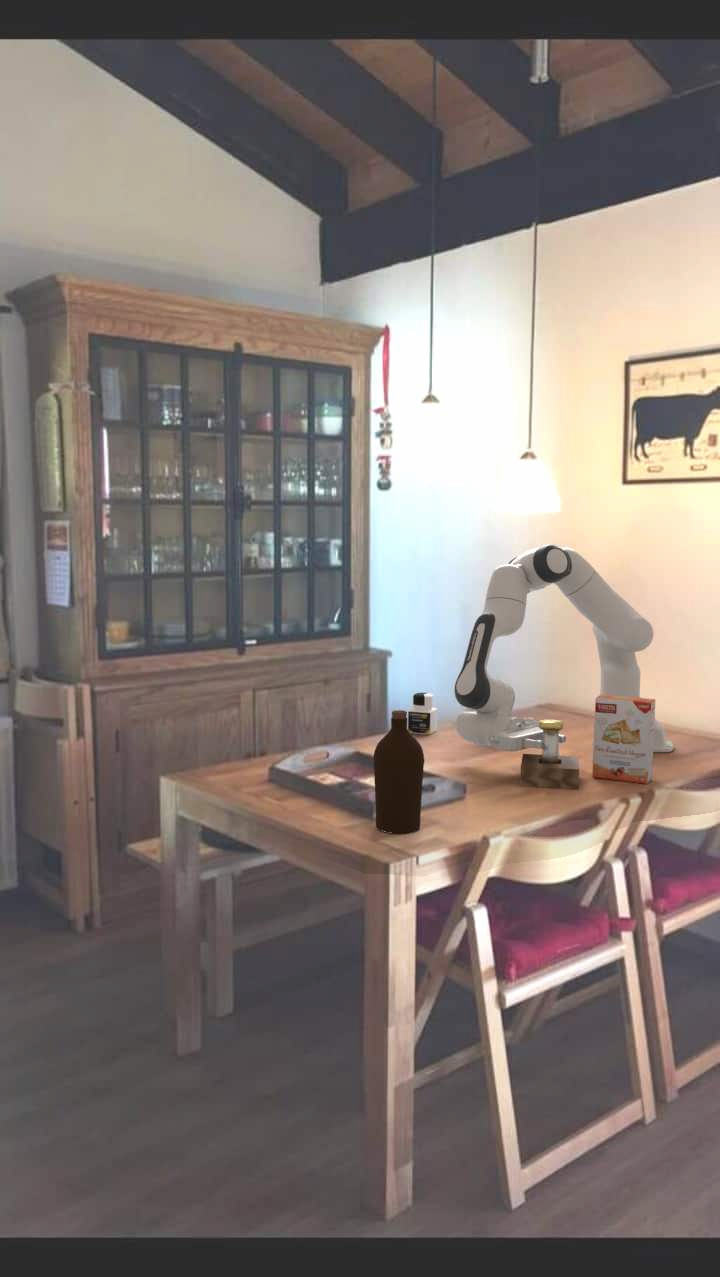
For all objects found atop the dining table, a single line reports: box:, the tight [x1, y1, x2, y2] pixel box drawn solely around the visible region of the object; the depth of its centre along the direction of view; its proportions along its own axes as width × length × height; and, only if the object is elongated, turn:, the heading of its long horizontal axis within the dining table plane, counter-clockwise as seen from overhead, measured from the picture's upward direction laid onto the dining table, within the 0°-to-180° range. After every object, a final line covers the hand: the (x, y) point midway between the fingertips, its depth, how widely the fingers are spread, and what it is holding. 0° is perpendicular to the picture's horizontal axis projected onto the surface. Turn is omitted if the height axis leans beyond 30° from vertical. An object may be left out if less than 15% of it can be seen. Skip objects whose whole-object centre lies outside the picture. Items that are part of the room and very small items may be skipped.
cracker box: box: [591, 694, 656, 785], centre depth 262 cm, size 14×6×21 cm, turn 63°
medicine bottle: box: [407, 692, 438, 736], centre depth 318 cm, size 7×7×12 cm
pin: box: [539, 719, 564, 764], centre depth 260 cm, size 6×6×15 cm
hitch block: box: [519, 753, 580, 790], centre depth 260 cm, size 14×14×5 cm
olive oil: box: [373, 709, 425, 834], centre depth 219 cm, size 11×11×25 cm
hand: (553, 742), depth 259 cm, fingers open, 8 cm apart
